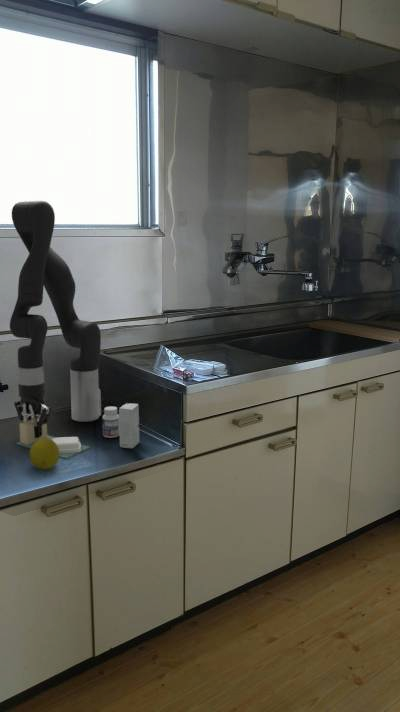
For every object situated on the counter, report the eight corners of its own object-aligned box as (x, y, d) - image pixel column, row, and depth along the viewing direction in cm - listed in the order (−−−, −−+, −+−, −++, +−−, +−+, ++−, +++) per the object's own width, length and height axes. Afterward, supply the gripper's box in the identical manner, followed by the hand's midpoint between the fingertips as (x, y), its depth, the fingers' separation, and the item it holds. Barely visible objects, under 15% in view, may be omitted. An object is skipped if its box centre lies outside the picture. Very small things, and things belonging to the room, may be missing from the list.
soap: (80, 443, 178) (80, 434, 178) (81, 452, 172) (81, 442, 171) (49, 445, 177) (49, 436, 176) (49, 454, 170) (48, 444, 169)
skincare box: (133, 448, 176) (132, 409, 174) (118, 447, 177) (118, 408, 175) (140, 441, 182) (139, 403, 179) (126, 440, 183) (125, 402, 180)
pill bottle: (105, 431, 190) (105, 405, 188) (121, 432, 189) (121, 406, 187) (100, 437, 185) (99, 410, 183) (116, 438, 184) (116, 411, 182)
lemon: (57, 475, 157) (56, 446, 155) (26, 475, 157) (25, 447, 155) (62, 459, 168) (61, 432, 166) (34, 459, 167) (33, 432, 165)
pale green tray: (41, 434, 186) (40, 415, 185) (90, 448, 176) (89, 427, 175) (16, 444, 178) (15, 424, 177) (65, 459, 168) (65, 437, 166)
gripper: (57, 381, 177) (59, 437, 180) (24, 374, 184) (27, 428, 188) (38, 387, 170) (41, 444, 174) (5, 380, 177) (8, 434, 181)
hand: (33, 435), depth 181 cm, fingers closed on pale green tray, 3 cm apart
